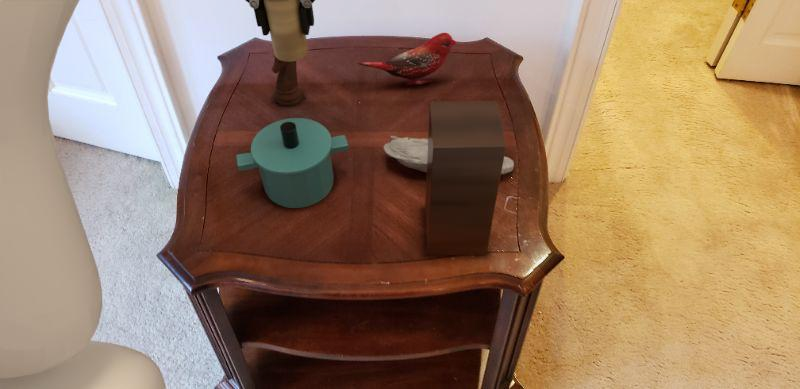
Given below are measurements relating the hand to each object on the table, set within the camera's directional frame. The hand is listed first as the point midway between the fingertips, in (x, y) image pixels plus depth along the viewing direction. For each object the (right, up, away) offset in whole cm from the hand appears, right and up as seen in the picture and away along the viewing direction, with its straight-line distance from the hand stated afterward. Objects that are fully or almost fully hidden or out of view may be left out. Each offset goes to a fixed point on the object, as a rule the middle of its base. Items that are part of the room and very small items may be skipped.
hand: (287, 28), depth 76 cm
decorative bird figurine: (+17, -3, +24) cm, 30 cm away
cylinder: (0, -2, +3) cm, 4 cm away
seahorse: (+23, -19, +10) cm, 32 cm away
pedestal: (+23, -28, +1) cm, 37 cm away
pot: (0, -21, +8) cm, 23 cm away
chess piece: (-4, -6, +22) cm, 24 cm away
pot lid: (0, -16, +3) cm, 16 cm away
